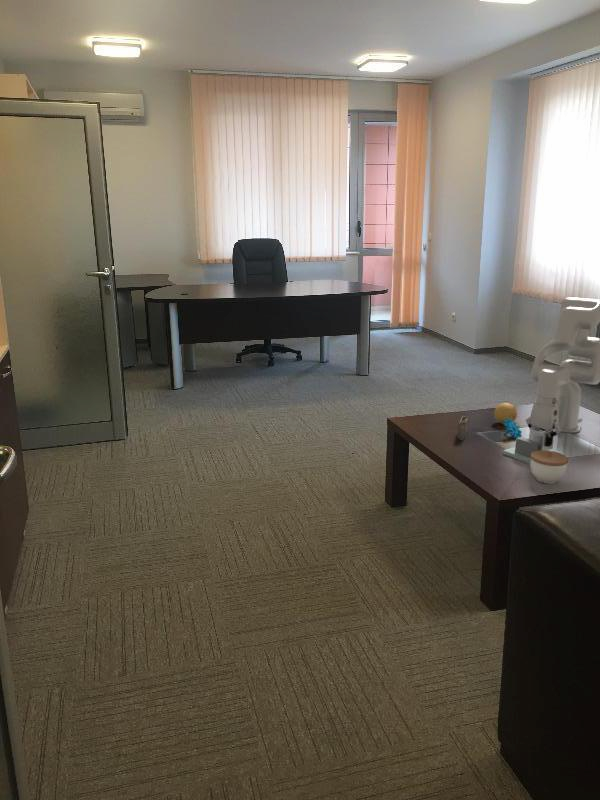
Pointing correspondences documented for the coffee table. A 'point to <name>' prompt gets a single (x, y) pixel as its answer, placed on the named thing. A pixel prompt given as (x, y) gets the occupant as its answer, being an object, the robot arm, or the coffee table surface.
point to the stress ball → (505, 412)
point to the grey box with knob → (540, 438)
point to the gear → (512, 428)
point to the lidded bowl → (548, 465)
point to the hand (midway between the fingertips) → (540, 442)
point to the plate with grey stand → (524, 449)
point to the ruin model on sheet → (463, 427)
